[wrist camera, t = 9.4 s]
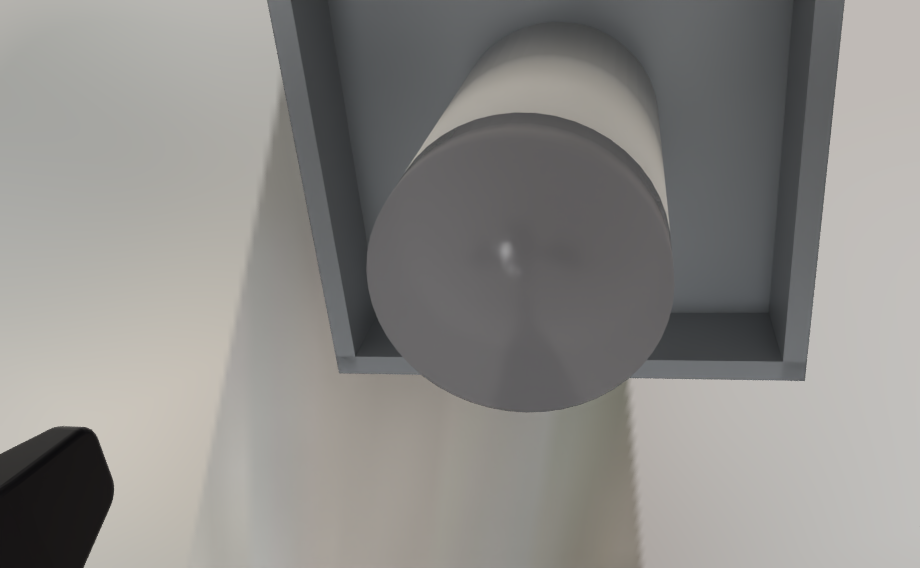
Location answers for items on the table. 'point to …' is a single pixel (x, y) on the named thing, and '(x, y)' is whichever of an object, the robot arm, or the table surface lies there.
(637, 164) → the cylinder
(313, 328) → the table surface
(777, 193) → the tray
